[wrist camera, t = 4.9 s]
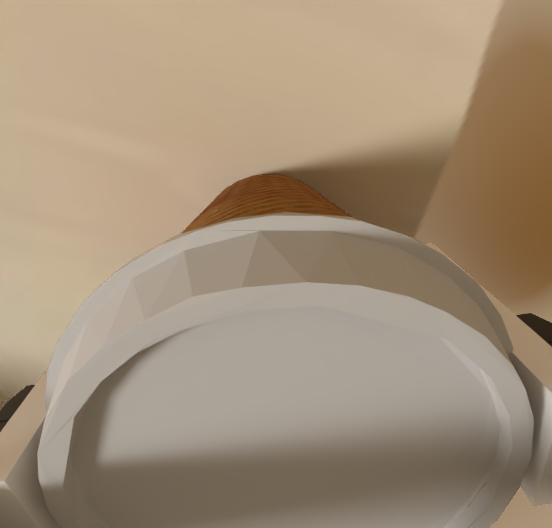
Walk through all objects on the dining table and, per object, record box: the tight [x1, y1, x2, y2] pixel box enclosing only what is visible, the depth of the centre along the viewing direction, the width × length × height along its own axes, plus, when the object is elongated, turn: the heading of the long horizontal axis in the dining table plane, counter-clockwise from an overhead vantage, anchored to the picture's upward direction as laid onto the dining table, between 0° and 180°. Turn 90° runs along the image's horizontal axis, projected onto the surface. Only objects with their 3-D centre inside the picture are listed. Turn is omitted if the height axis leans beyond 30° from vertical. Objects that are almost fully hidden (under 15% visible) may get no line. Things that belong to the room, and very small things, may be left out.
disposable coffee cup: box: [37, 174, 534, 528], centre depth 12 cm, size 10×10×12 cm
